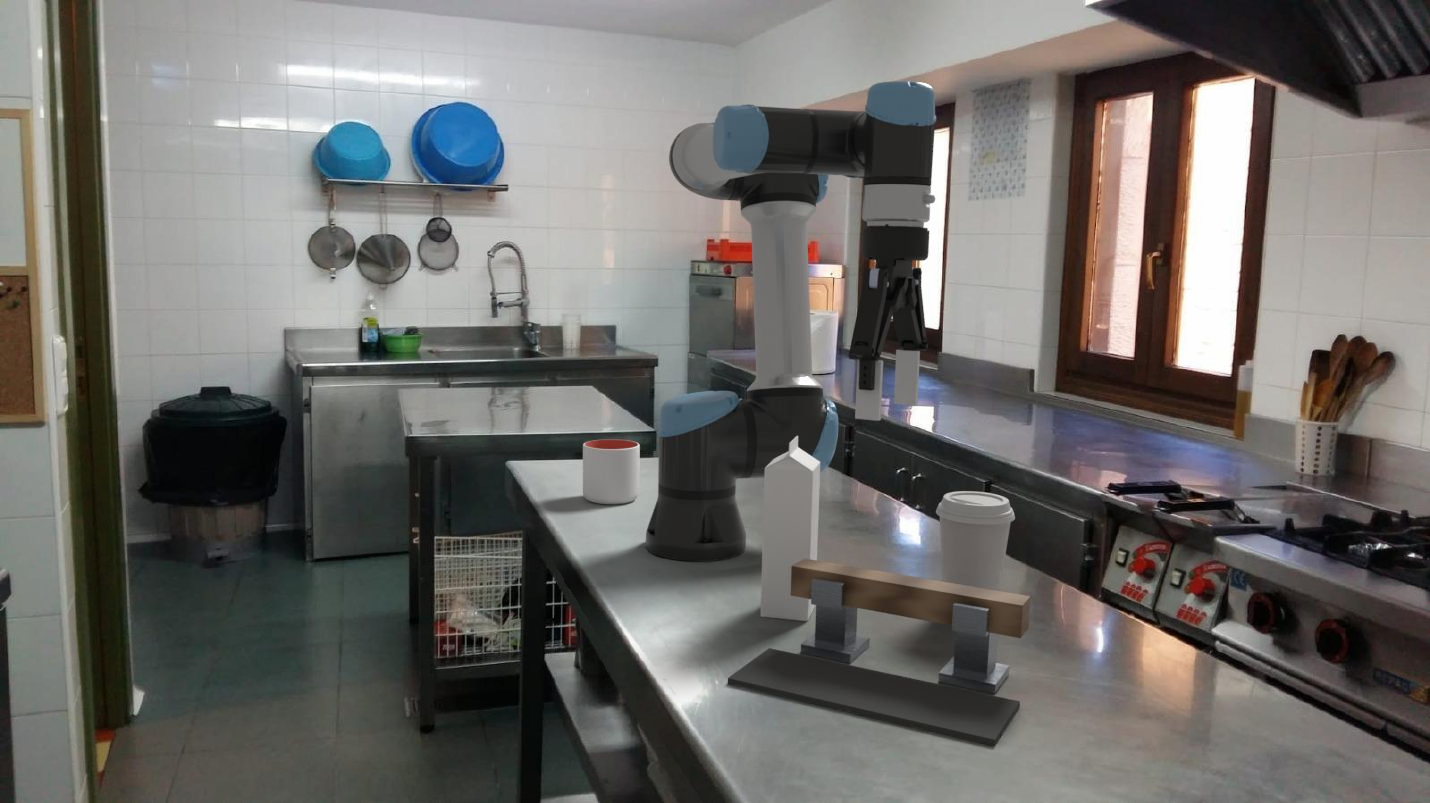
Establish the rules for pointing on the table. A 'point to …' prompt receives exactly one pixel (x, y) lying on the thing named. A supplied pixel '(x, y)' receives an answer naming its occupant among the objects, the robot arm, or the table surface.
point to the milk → (788, 530)
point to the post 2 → (973, 651)
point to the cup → (611, 471)
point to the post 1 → (833, 624)
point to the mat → (879, 695)
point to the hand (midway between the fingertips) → (887, 411)
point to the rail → (913, 595)
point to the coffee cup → (974, 538)
